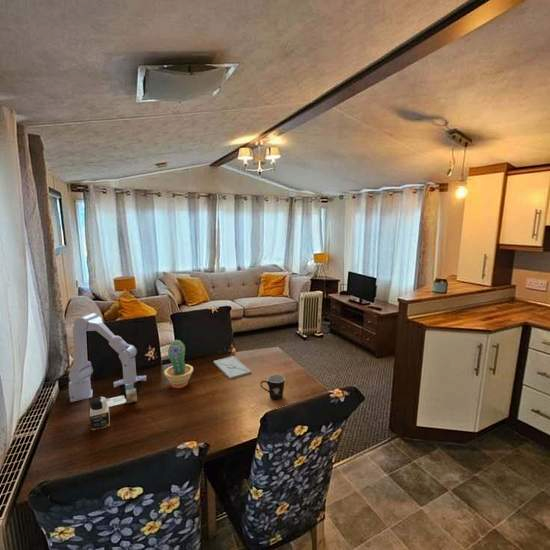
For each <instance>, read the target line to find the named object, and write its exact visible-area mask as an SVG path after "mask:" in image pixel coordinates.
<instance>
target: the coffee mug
mask: <svg viewBox="0 0 550 550" xmlns="http://www.w3.org/2000/svg"><path fill="white" fill-rule="evenodd" d="M285 380H286V378H285V376H284V375H281V374H272V375H269V376H268V377H267V380H262V381H260V387H261V388H262V389H263V390H265V391H266V392H267V393H269V399H271V400H272V401H280V400H282V399H283V397H284V390H285V389H284V388H285ZM262 383H267V386H268V389H267V388H265V387H263V384H262Z"/></svg>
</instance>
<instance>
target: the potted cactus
mask: <svg viewBox="0 0 550 550" xmlns="http://www.w3.org/2000/svg"><path fill="white" fill-rule="evenodd" d="M167 354H168V359H169V360H170V363H171V366H168V367H167V368H166V369H165V370H164V371H163V373H164V376H165V378H166V379H167V380H168V382H169V383H170V386H171V387H172V388H174V389H175V388H176V389H181V388H184V387H185V386H187V385H188V384H189V380H190V378H191V376H192V374H193V372H194V367H193V366H192V365H190V364H188V363H187V364H186V362H185V355H186V346H185V343H183V342H182V341H181V339H179V340H178V339H175V340H172V341H171V343H170V345H169V346H168V349H167Z"/></svg>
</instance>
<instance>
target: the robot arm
mask: <svg viewBox="0 0 550 550" xmlns="http://www.w3.org/2000/svg"><path fill="white" fill-rule="evenodd" d="M87 331H88V332H93V331H95V332H97V333H98V334H100V335H101V336H102V337H103V338H105V339H106V340H107V341H108V345H109V346H110V347H111V348H112V349H113V350H114V351H115V352H116V353H117V354H118V358H119V361H120V362H121V365H122V376H123V378H122V379H119V380H116V381H113V388H116V387H119V390H120V392H122V395H124V396H125V399H126V400H127V397H126V389H125V384H129V385H130V384H134V383H135V388H136V392H137V397H139V392H140V390H141V387H142V384H143V383H142V382H146V381H147V375H146V374H145V375H137V369H136V367H137V365H136V355H137V354H138V350H137V348H136V347H135V345H133V344H129V343H127V341H125V340H124V339H123V338H122V336H120V335H115V334H114V332H112V331H111V330H110V328H108V327H107V325H106V324H105V323H104V322H103V318H102V317H101V316H100V315H99V314H98V313H96V312H90V313H88V314H86V315H84V316H81V317H78V318H76V319H75V320H74V321H73V327H72V339H73V340H72V344H73V361H74V362H73V363H72V365H71V367H70V368H69V373H68V380H69V382H68V396H69V402H70V403H72V402H76V401H81V400H87V399H90V398H93V391H94V390H93V389H92V385H91V376H92V374H93V372H94V369H93V366H92V361H89V360H88V349H87V346H88V345H87Z"/></svg>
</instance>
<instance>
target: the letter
mask: <svg viewBox="0 0 550 550" xmlns="http://www.w3.org/2000/svg"><path fill="white" fill-rule="evenodd" d="M106 402H107V404H109V408H110V407H114V406H117V405H123V404H125V403H126V404H127V399H125V396H124V394H122V395H119V396H115V397H114V396H113V397H111V398H109V397H108V398H106Z"/></svg>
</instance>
